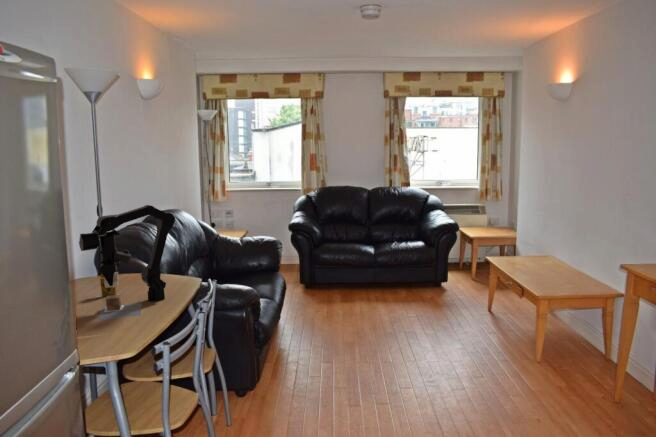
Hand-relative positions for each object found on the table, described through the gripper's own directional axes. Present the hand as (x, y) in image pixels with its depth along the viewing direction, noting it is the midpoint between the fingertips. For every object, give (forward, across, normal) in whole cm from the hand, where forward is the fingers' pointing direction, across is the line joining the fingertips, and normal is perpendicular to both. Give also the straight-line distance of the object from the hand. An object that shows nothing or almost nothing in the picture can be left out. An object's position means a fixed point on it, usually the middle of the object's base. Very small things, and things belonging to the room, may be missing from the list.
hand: (111, 284), depth 224 cm
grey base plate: (+11, -5, -3) cm, 13 cm away
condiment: (+12, +25, +5) cm, 28 cm away
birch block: (+1, 0, 0) cm, 1 cm away
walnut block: (+10, 0, 0) cm, 10 cm away
